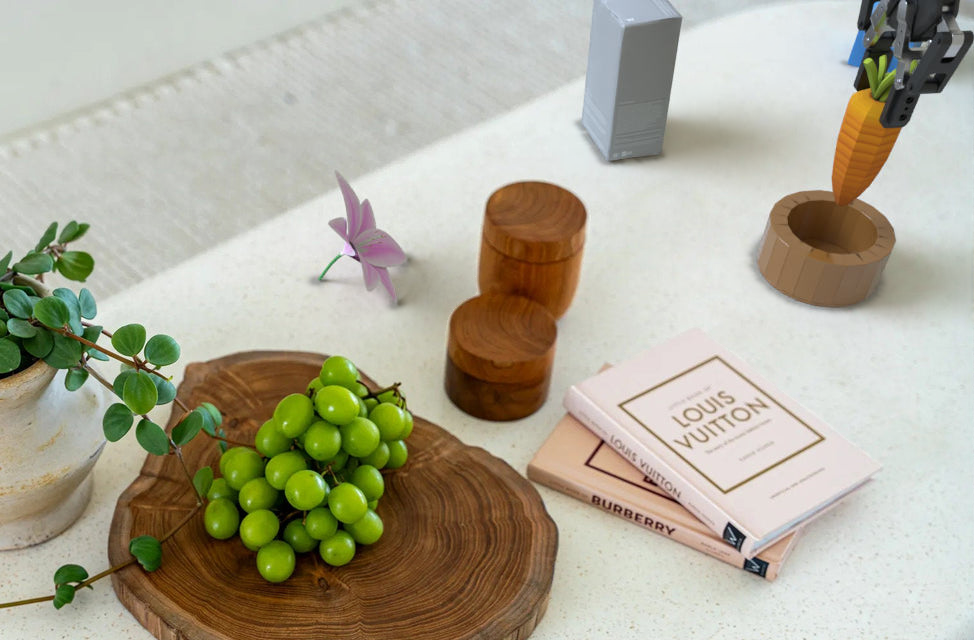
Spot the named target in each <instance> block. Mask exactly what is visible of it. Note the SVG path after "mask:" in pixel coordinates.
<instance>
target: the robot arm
mask: <svg viewBox="0 0 974 640" xmlns="http://www.w3.org/2000/svg"><path fill="white" fill-rule="evenodd" d="M876 2H880V3H879V4H878V6H877V8H876V9H875V11H874V12H873V14H872V10H873V5H874V4H875V3H876ZM960 2H961V0H861V3H860V8H859V13H858V18H857V22H856V27H857V30H858V31H865V36H864V39H863V46H864V48H866V50H865V53H864V55H863V58H862V61H861V64H860V67H858V69H857V72H856V76H855V79H854V81H853V88H854V90H855V91H856V92H858V91H861V90H865V89H869V88H870V83H869V79H868V75H867V71H866V68H865V66H864V63H863V62H864V61H865V60H866V59H867V58H871V59H872V60H873V61H874V63H875V65H876V68H877V73H879V59H880V57H881V56H883V55H887V67H886V72H885V74H886V73H887V71H888V68H889V66H890V63H891V60H892V58H893V55H894V57H895V58H897V59H898V63H897V69H896V74H895V80H894V84H892V87H891V90H890V92H889V95H888V97H887V100H886V103H885V105H884V108H883V110H882V113H881V116H880V118H879V122H880V124H881V125H882V126H883V128H901V127H902V128H904V127H906V126H907V125H908V124H909V122H910V121H911V119H912V117H913V114H914V112H915V109H916V106H917V104H918V101H919V99H920V96H921V95H930V94H941V93H942V92H943V91H944V89H945V87H946V86H947V84H948V83H949V81H950V80H951V78H952V77H953V76H954V73H955V72H956V70H958V68H959V66H960V64H961V63H962V61H963V60H964V58H965V57H966V55H967V53H968V52H969V50H970V48H971V47H972V45H973V43H974V32H973V30H961V29H960V26H959V24H958V22H957V20H956V19H957V17H958V16H959V15H958V14H959V11H960V5H961V4H960ZM871 15H872V16H871ZM909 42H911V43H913V42H922V43H926V44H927V45H925V46H921V47H915V48H909ZM890 47H894V52H893V50H892V49H890ZM913 60H916V61H918V60H919V62H917V63H918V65H917V66H916V68H915V69H914V70H913V72H912V73H911V74H909V72H910V66H911V63H912V61H913ZM933 75H934V76H933Z"/></svg>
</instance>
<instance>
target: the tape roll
mask: <svg viewBox="0 0 974 640" xmlns="http://www.w3.org/2000/svg"><path fill="white" fill-rule="evenodd" d="M764 227H765V228H764V229H763V234H762V237H761V240H760V242H759V246H758V249H757V251H756V252H757V253H756V264H757V268H758V270H759V272H760V274H761V276H762V277H763V278H764V279H765V281H767V283H768V284H769V285H770V286H772V287H773V288H774V289H775V290H776V291H778V292H780V293H782V294H783V295H785V296H787V297H789V298H790V299H793V300H796V301H799V302H802V303H804V304H808V305H812V306H817V307H823V308H824V307H826V308H840V307H847V306H848V307H849V306H852V305H853V306H854V305H856V304H858V303H859V304H860V303H861V302H864V301H865V300H867V299H869V297H871V295H873V293H874V292H875V290H876V289H877V287H878V285H879V282H880V280H881V278H882V275H883V273H884V271H885V269H886V266H887V264H888V262H889V259H890V257H891V255H892V252H893V250H894V247H895V245H896V242H897V238H896V232H895V229H894V227H893V225H892V224H891V222H890V220H889V219H888V217H886V215H885V214H883V213H882V212H881V211H879V210H878V209H877V208H876V207H875V206H873V205H871V204H869V203H868V202H866V201H863V200H862V199H859V197H857V198H856V199H855V200H854V201H852V202H851V203H850V204H848V205H846V206H843V207H839V206H838V205H837V203H836V202H835V198H834V194H833V190H832V191H831V190H822V189H813V190H800V191H796V192H794V193H790V194H787V195H785V196H783V197H782V198H781V199H779V200H778V201H777V202H774V204H773V207H772V208H771V210H770V212H769V215H768V217H767V221H766V224H765V226H764Z"/></svg>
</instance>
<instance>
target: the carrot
mask: <svg viewBox="0 0 974 640" xmlns="http://www.w3.org/2000/svg"><path fill="white" fill-rule="evenodd" d="M863 63H864V66H865V68H866V71H867V75H868V79H869V83H870V88H869V89H865V90H861V91H858V92H857V91H856V92H854V93H852V95H851V96H850V98H849V100H848V103H847V106H846V109H845V111H844V115H843V118H842V121H841V125H840V129H839V132H838V135H837V138H836V144H835V150H834V156H833V162H832V170H831V171H832V172H831V187H832V188H831V189H832V192H833V194H834V198H835V202H836V203H837V205H838V206H839V207H843V206H846V205H848V204H850V203H851V202H852V201H854V200H855V199H856V198H859V197H860V196H861V195H862V194H863V193H864V192H865V191H866V190H867V189H868V188H869V187H870V186H871V185H872V184H873V182H874V180H875V179H876V178H877V176H878V175H879V173H880V172H881V171H882V169H883V167H884V166H885V164H886V162H887V161H888V159H889V157H890V155H891V153H892V151H893V148H894V146H895V144H896V143H897V140H898V138H899V135H900V133H901V131H902V129H903V127H901V128H883V126H882V125H881V124H880V122H879V118H880V116H881V113H882V110H883V108H884V105H885V103H886V100H887V97H888V95H889V92H890V90H891V87H892V84H894V80H895V74H896V69H895V70H893V71H892V72H891V73H890V72H888V73H886V74H885V72H886V67H887V55H883V56H881V57H880V59H879V73H877V68H876V65H875V63H874V61H873V60H872V59H871V58H867V59H866V60H865V61H864V62H863ZM918 63H919V62H918V60H913V61H912V63H911V66H910V72H909V74H912V73H913V72H914V70H915V68H916V67H917V65H918Z"/></svg>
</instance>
